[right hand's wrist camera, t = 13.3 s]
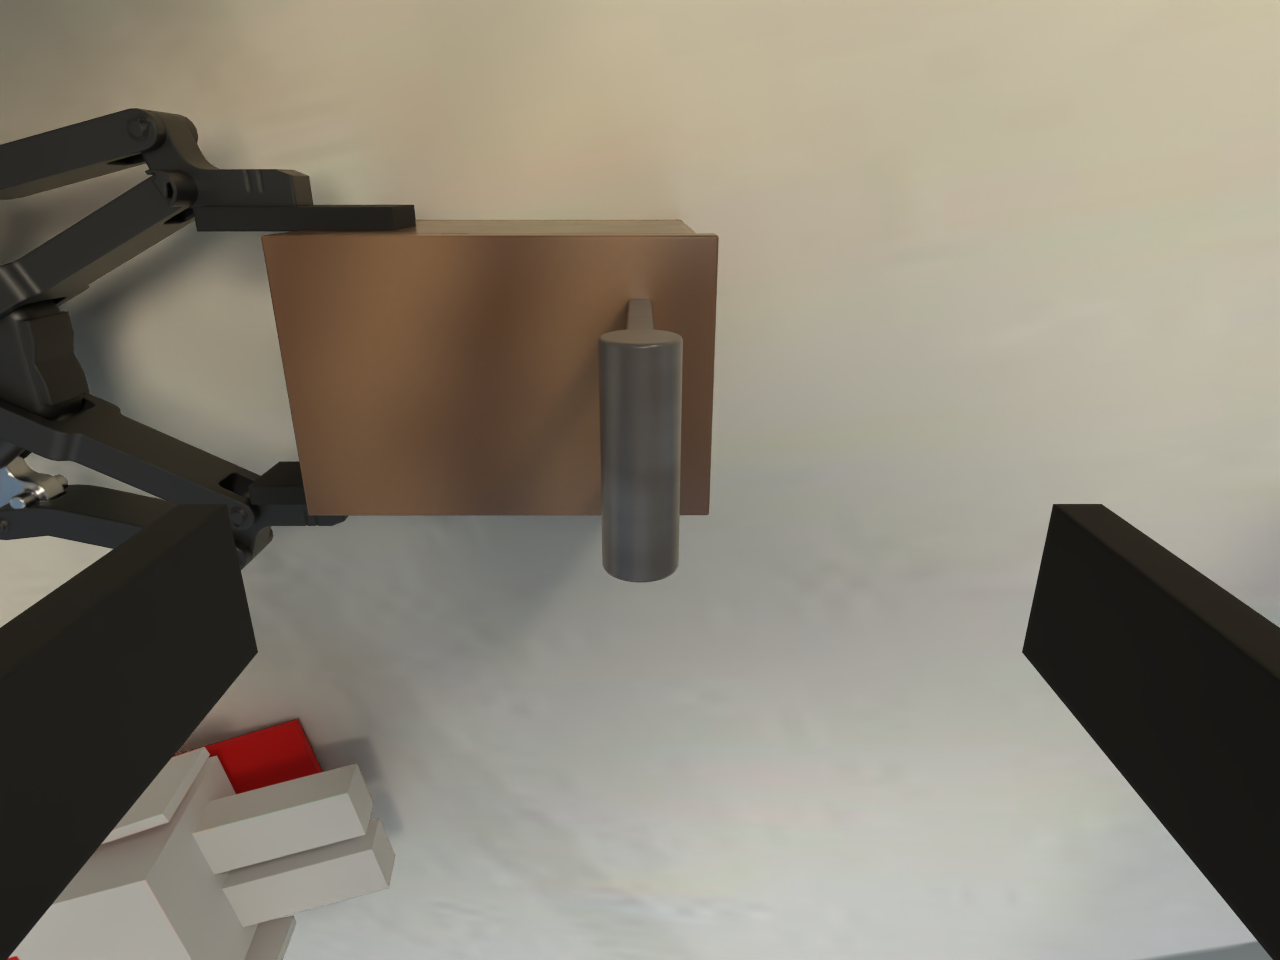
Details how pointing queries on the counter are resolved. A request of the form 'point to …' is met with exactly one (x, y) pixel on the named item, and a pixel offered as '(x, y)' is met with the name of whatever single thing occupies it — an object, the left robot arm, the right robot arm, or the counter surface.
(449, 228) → the brown hollow box
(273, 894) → the toy
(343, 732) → the counter surface
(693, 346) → the lid
